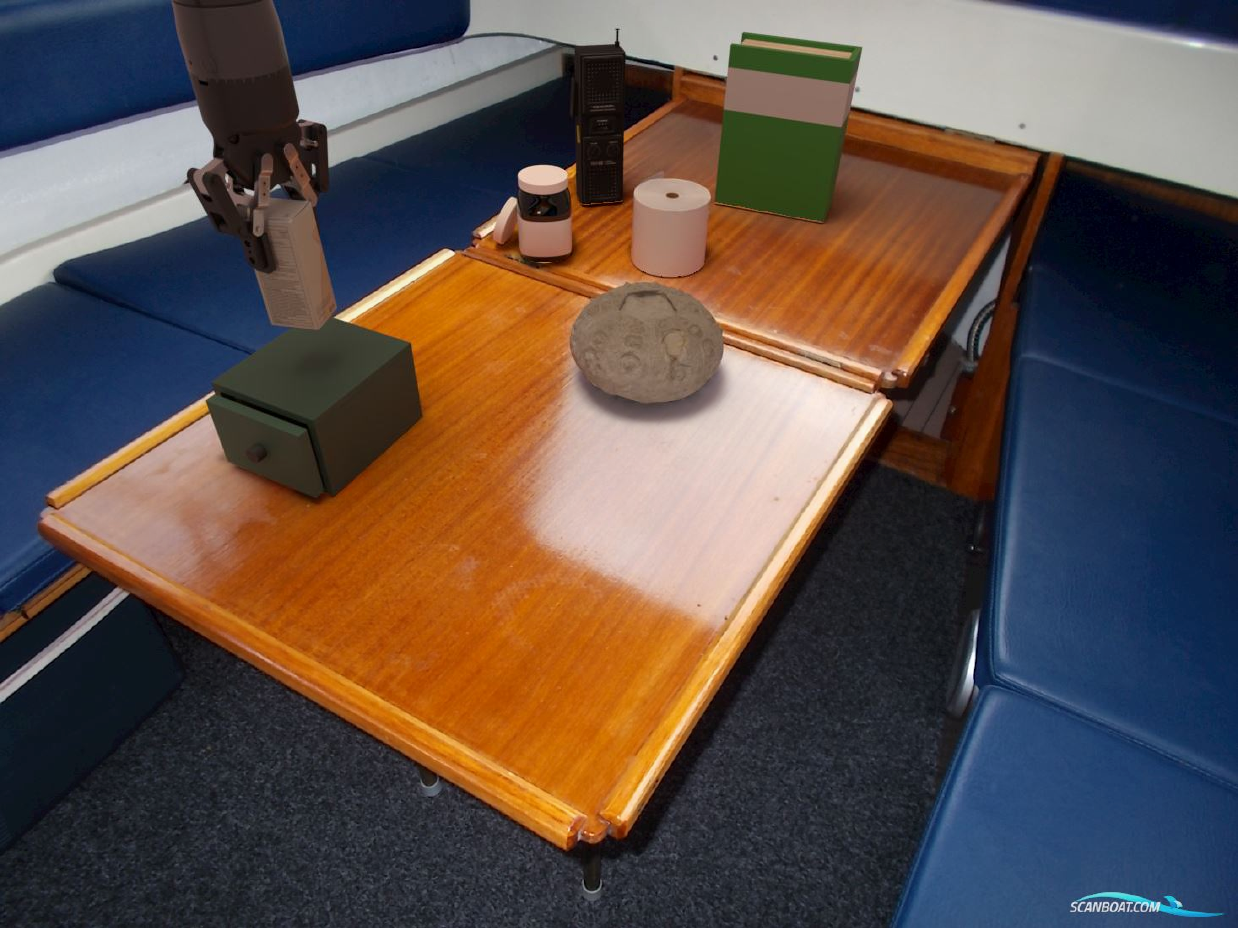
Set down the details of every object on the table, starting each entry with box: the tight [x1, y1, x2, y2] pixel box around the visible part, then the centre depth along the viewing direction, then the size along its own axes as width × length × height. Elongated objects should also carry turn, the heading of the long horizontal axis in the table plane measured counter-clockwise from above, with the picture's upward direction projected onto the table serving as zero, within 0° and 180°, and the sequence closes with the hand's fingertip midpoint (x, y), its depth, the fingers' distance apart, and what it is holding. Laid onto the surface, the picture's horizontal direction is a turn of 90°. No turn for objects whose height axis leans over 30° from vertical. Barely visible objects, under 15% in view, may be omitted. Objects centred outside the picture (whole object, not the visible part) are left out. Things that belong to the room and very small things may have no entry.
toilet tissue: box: [630, 170, 712, 278], centre depth 122 cm, size 11×12×10 cm
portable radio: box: [569, 28, 627, 204], centre depth 131 cm, size 8×6×25 cm
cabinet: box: [210, 316, 424, 498], centre depth 90 cm, size 15×13×10 cm
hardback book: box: [713, 31, 863, 222], centre depth 131 cm, size 18×7×24 cm, turn 69°
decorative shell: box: [569, 280, 725, 405], centre depth 99 cm, size 18×18×10 cm
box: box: [247, 197, 338, 330], centre depth 79 cm, size 5×4×11 cm
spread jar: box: [492, 164, 573, 263], centre depth 122 cm, size 12×11×12 cm
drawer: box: [205, 393, 324, 499], centre depth 88 cm, size 15×12×8 cm
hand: (287, 256), depth 78 cm, fingers closed on box, 5 cm apart
